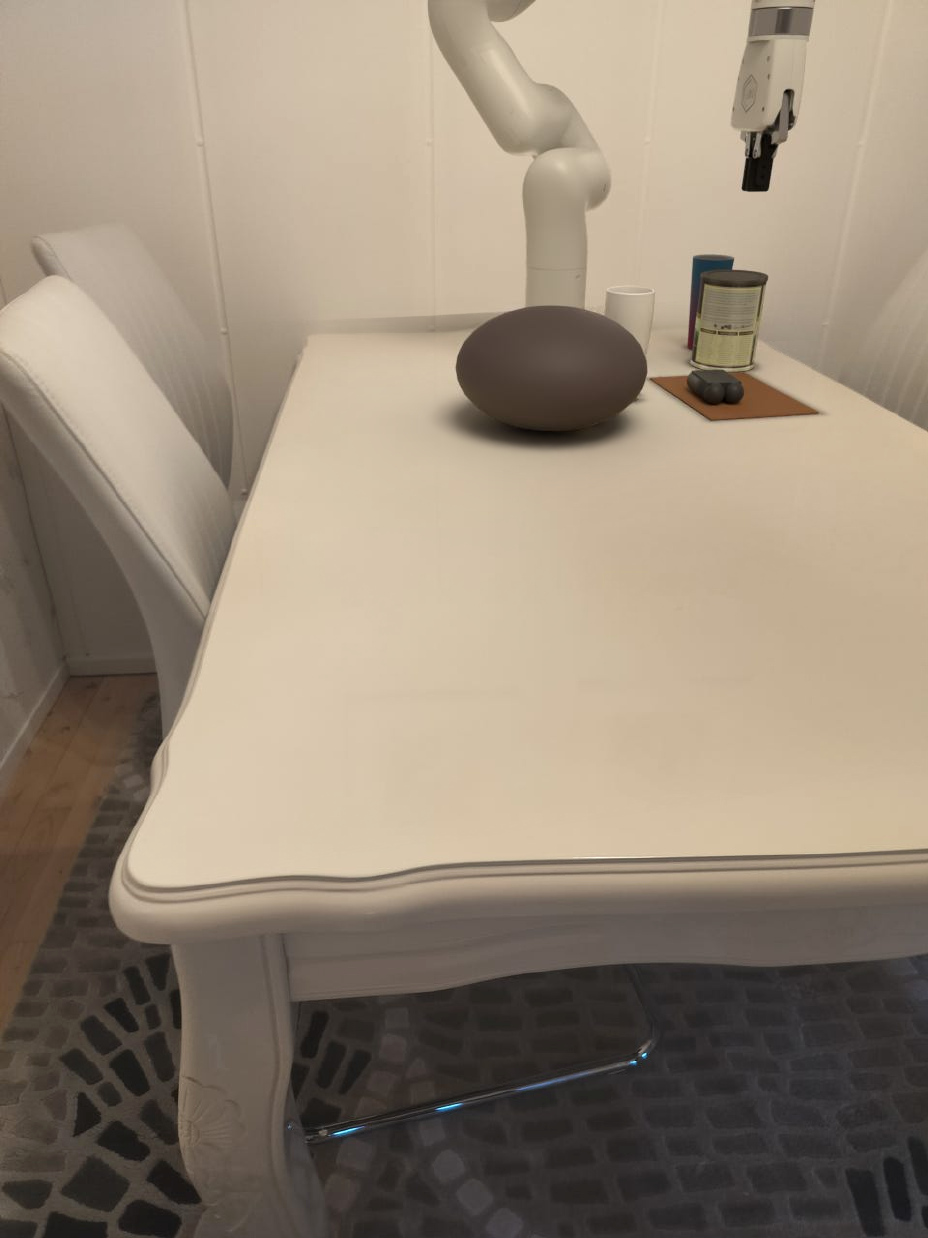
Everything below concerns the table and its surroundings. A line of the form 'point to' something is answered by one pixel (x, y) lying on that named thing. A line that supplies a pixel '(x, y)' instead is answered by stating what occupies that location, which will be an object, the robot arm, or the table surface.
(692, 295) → the cup
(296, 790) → the table surface
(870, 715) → the table surface
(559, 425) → the flattened ellipsoid
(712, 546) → the table surface
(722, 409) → the mouse pad
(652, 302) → the drinking glass
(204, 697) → the table surface
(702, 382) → the mouse
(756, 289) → the coffee can
